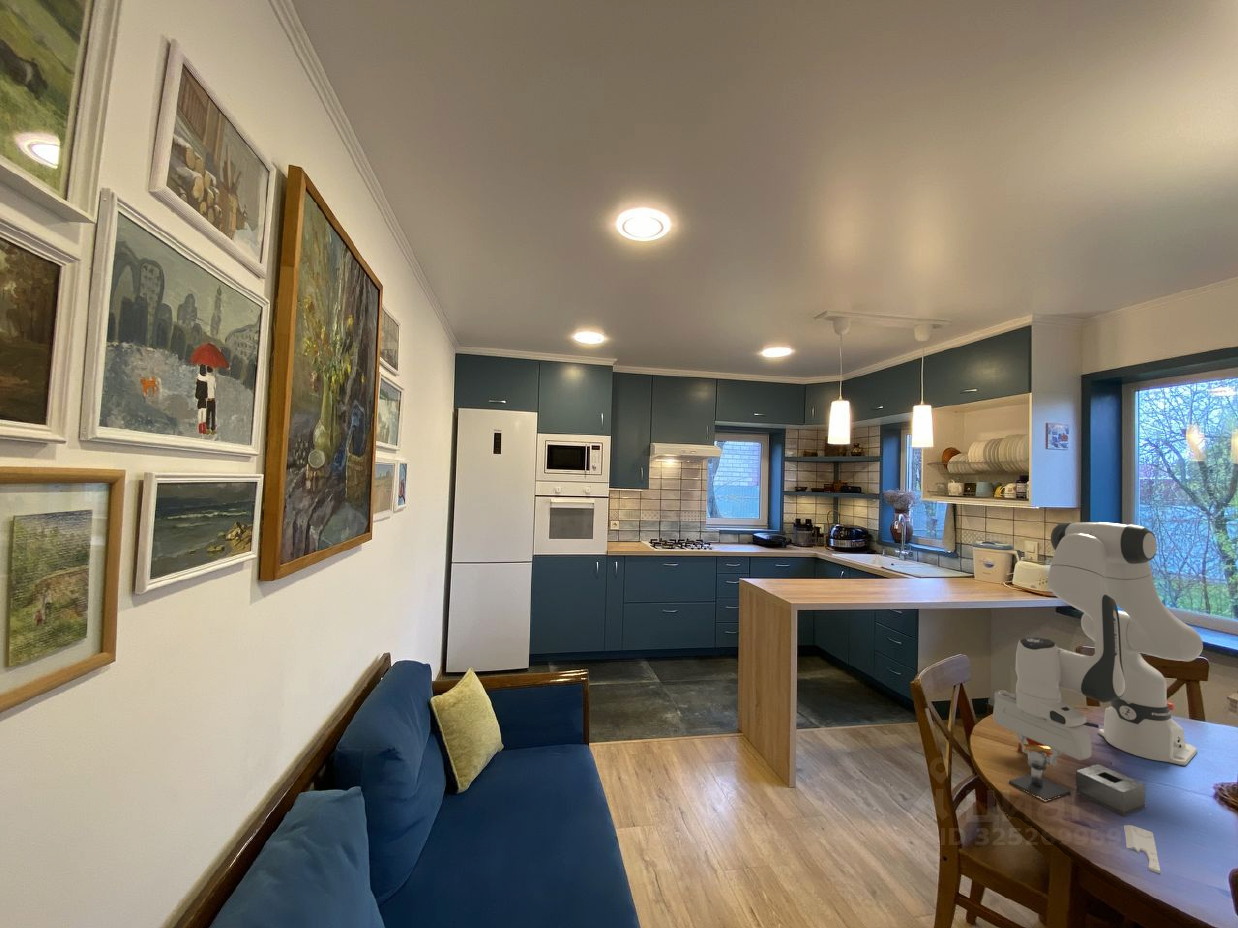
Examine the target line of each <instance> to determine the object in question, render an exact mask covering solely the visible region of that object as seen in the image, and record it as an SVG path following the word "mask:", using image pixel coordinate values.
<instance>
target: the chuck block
mask: <svg viewBox="0 0 1238 928" xmlns="http://www.w3.org/2000/svg"><path fill="white" fill-rule="evenodd" d="M1075 775H1076V776H1075V779H1076V780H1075V782H1076V785H1075V786H1076V794H1077V795H1079V796H1081V797H1083V798H1085V799H1087V800H1090V801H1091V802H1094V803H1095V804H1098V805H1099V806H1101V807H1104V808H1105V809H1108V810H1110V811H1112V812H1114V813H1116V814H1117V815H1120V816H1122V817H1126V816H1129V815H1131V814H1133V813H1135V812H1139V811H1140V810H1143V809H1146V784H1145V783H1143V782H1140V781H1138V780H1136V779H1133V778H1131V777H1129V776H1126V775H1123V774H1122V773H1120V772H1117V771H1115V770H1113V769H1110V768H1107V767H1105V766H1103V765H1102V764H1098V763H1097V764H1093V765H1090V766H1087V767H1084V768H1081V769H1077V770H1076V771H1075Z"/></svg>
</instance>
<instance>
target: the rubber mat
mask: <svg viewBox="0 0 1238 928" xmlns="http://www.w3.org/2000/svg"><path fill="white" fill-rule="evenodd" d="M1008 784H1010V785H1012V786H1014V787H1016V786H1017V787H1016V788H1018V787H1019V788H1021V789H1023V790H1025V791H1027V792H1029V793H1031V794H1033V795H1035V796H1039V797H1041V798H1042V799H1044V800H1048V799H1053V798H1055V797H1058V796H1061V797H1063V796H1066V795H1069V794H1070V795H1071V790H1069V788H1068V789H1067V788H1066V787H1063V786H1062V785H1059V784H1057V783H1056V782H1053V781H1052V780H1049V779H1047V778H1045V777H1043V787H1042V788H1039V787H1035V786H1033V785H1032V784H1031V773H1029V774H1026V775H1022V776H1020V777H1017V778H1014V779H1009V780H1008ZM1019 788H1018V789H1019ZM1021 789H1020V790H1021ZM1023 790H1022V791H1023ZM1025 791H1024V792H1025ZM1027 792H1026V793H1027ZM1029 793H1028V794H1029ZM1031 794H1030V795H1031ZM1033 795H1032V796H1033ZM1053 800H1054V799H1053Z"/></svg>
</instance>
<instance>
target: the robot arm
mask: <svg viewBox="0 0 1238 928" xmlns="http://www.w3.org/2000/svg"><path fill="white" fill-rule="evenodd" d="M1050 543H1051V546H1052V548H1053V549H1054V552H1053V553H1054V554H1053V556H1052V560H1051V562H1050V563H1051V564H1050V566H1049V569H1048V570H1049V571H1048V577H1047V584H1048V585H1047V586H1048V588H1049V590H1051V592H1052V594H1054V596H1055V597H1056V598H1058V599H1059V600H1060V601H1062V602H1063V603H1065V604H1067V605H1069V606H1071V607H1072V608H1075V609H1076V610H1078V611H1080V612H1082V613H1083V614H1082V616H1081V619H1080V625H1081V629H1082V631H1083V633H1084V634H1085V635H1086V636H1087V637H1088V638H1089V639H1091V640H1092V641H1093V643H1094V654H1093V655H1086V654H1082V653H1078V652H1075V651H1070V650H1068V649H1066V648H1065V649H1064V648H1061V647H1058V646H1057V644H1056V642H1055V641H1053V640H1051V639H1050V638H1046V637H1044V636H1043V637H1041V636H1030V635H1029V636H1025V637H1022V638H1020V639H1019V640H1018V643H1017V647H1016V653H1015V673H1016V676H1017V681H1016V684H1015V694H1013V693H1011V692H1008V691H1006V690H1003V689H1000V690H997V691H995V692H994V705H993V712H992V720H993V721H994V723H995V724H996V725H998V726H1000V727H1002V728H1004V729H1006V730H1009V731H1011V732H1013V733H1016V738H1017V739H1018V743H1019V742H1020V743H1021V745H1022V752H1021V753H1023V752H1024V753H1023V754H1025V753H1026V754H1025V755H1027V754H1028V750H1025V749H1024V748H1023V744H1028V742H1027V740H1026V738H1030V739H1032V740H1034V741H1036V742H1039V743H1041V744H1043V745H1044V746H1048V747H1050V751H1051V754H1052V755H1048V756H1046V764H1047V765H1050V766H1053V767H1055V766H1057V764H1058V763H1057V762H1058V758H1059V757H1060V756H1061V755H1062V754H1064V755H1066V756H1069V757H1070V758H1073V759H1076V760H1077V761H1084V760H1087V759H1089V758H1090V757H1092V753H1093V752H1092V741H1091V735H1090V732H1089V730H1088V728H1087V726H1086V725H1083V724H1084V723H1086V722H1088V720H1087V716H1086V715H1085V714H1084V713H1083V712H1081V711H1079V710H1078V709H1076V708H1075V707H1073V706H1072V705H1070V704H1068V703H1067V702H1065V701H1064V700H1063V699H1062V695H1061V692H1060V688H1062V689H1065V690H1068V691H1071V692H1075V693H1078V694H1081V695H1083V696H1085V697H1087V698H1090V699H1092V700H1095V701H1098V702H1100V703H1110V706H1109V707H1106V708H1105V710H1104V711H1105V712H1104V721H1103V728H1098V734H1099V735H1100V736H1102V737H1104V739H1105V741H1106V742H1108V743H1109V744H1110V745H1111V746H1113V747H1114V748H1117V749H1118V750H1121V751H1123V752H1125V753H1128V754H1131V755H1134V756H1136V757H1141V758H1144V759H1147V760H1152V761H1159V762H1165V763H1171V764H1176V765H1180V766H1186V765H1188V764H1189V762H1190V761H1191V760H1192V759H1193V757H1194V756H1195V755H1196V754H1197V752H1198V749H1197V747H1195V746H1194V745H1191V744H1190V743H1187V742H1186V741H1185V740H1186V739H1185V730H1184V728H1183V727H1182V726H1180V725H1179V724H1178V723H1177V722H1176V721H1175V720H1173V719H1172V715H1171V713H1172V712H1171V711H1174V710H1175V705H1174V703H1173V702H1168V701H1167V698H1168V697H1167V680H1166V678H1165V676H1164V675H1163V674H1162V673H1161V672H1160V671H1159V670H1158V669H1156V668H1155V667H1154V666H1152V665H1151V664H1149V663H1148V662H1147V661H1146V659H1144V657H1143V656H1142V655H1141V654H1145V655H1148V656H1151V657H1156V658H1160V659H1164V660H1171V661H1179V662H1180V661H1182V662H1192V661H1194V660H1196V659H1197V658H1198V657H1200V655H1201V654H1202V652H1203V649H1204V645H1203V639H1202V638H1201V635H1200V634H1199V633H1198V632H1197V630H1196V629H1195V628H1193V627H1191V626H1190V625H1188V624H1186V623H1185V622H1184V621H1182V620H1180V619H1179V618H1178V617H1177V616H1176V615H1174V614H1173V613H1172V612H1171V611H1170V610H1169V609H1168V608H1167V607H1166V605H1165V604H1164V603H1163V602H1162V600H1161V598H1160V597H1159V594H1158V591H1157V588H1156V586H1155V582H1154V578H1153V573H1152V569H1151V565H1150V561H1151V560H1153V559H1154V558H1155V556H1156V554H1157V550H1158V543H1157V539H1156V536H1155V534H1154V533H1153V532H1152V531H1151V530H1150V529H1149V528H1147V527H1145V526H1141V525H1136V524H1123V523H1115V522H1106V521H1105V522H1104V521H1103V522H1102V521H1099V522H1093V521H1092V522H1091V521H1089V522H1086V521H1085V522H1084V521H1083V522H1075V521H1066V522H1061V523H1059V524H1057V525H1056V526H1055V527H1053V528H1052V531H1051V533H1050ZM1118 608H1119V609H1121V610H1119V609H1118Z"/></svg>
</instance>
